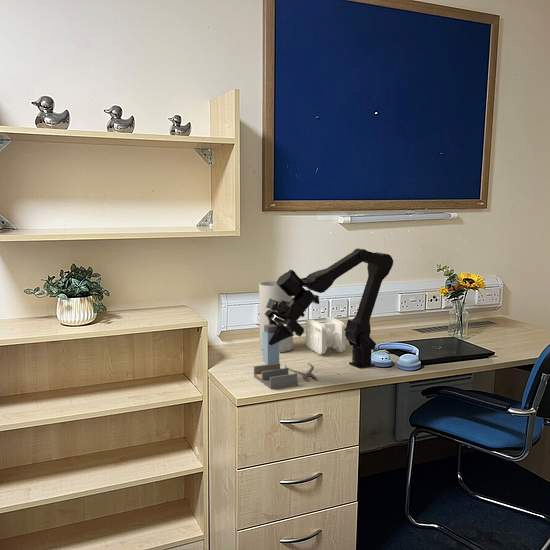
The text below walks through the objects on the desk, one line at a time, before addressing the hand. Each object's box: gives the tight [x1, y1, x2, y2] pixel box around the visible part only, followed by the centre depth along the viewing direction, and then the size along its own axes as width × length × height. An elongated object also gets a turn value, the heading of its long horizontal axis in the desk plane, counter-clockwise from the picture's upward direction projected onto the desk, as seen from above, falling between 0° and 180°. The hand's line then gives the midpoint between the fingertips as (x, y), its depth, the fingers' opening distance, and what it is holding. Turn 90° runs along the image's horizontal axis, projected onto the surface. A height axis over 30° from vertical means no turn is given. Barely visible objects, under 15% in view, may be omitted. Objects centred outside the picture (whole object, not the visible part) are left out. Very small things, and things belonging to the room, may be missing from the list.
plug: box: [262, 324, 280, 365], centre depth 196 cm, size 4×4×12 cm
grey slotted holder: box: [253, 362, 299, 390], centre depth 194 cm, size 9×14×4 cm, turn 24°
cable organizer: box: [305, 316, 346, 356], centre depth 229 cm, size 15×11×12 cm
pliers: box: [283, 362, 318, 383], centre depth 204 cm, size 10×1×20 cm
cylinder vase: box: [258, 280, 294, 353], centre depth 232 cm, size 12×12×25 cm
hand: (266, 342), depth 195 cm, fingers closed on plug, 4 cm apart
